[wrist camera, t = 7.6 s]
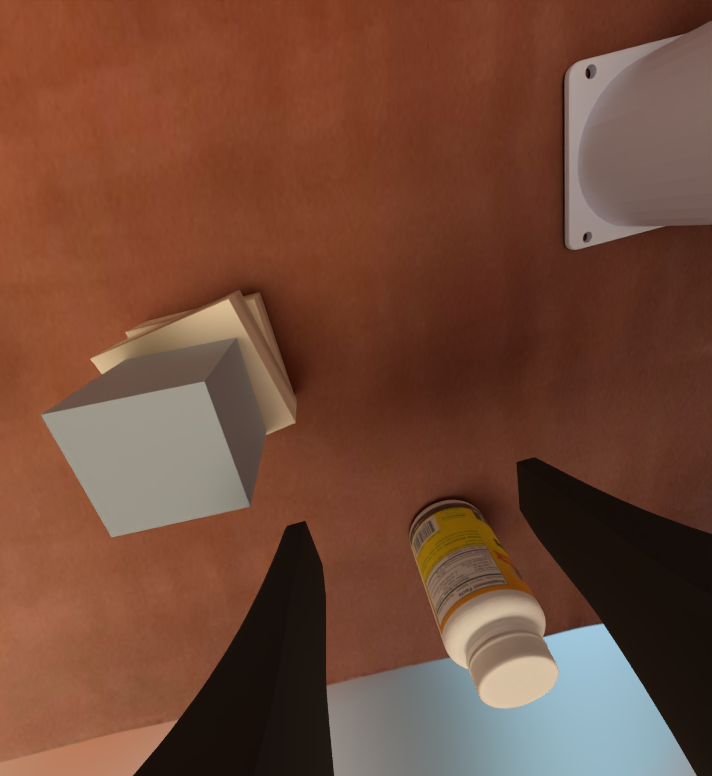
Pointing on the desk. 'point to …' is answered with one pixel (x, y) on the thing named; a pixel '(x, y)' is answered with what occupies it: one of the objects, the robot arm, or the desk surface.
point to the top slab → (210, 326)
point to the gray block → (164, 437)
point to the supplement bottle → (482, 605)
